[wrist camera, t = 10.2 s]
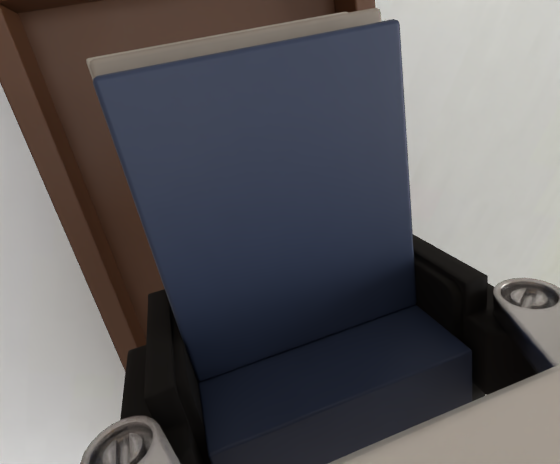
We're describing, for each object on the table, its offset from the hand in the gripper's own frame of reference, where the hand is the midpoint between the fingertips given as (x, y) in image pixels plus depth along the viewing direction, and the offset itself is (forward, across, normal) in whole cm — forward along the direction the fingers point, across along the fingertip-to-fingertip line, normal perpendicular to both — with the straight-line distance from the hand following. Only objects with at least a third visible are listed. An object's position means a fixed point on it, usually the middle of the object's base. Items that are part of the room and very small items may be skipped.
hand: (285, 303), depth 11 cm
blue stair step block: (+1, 0, 0) cm, 1 cm away
